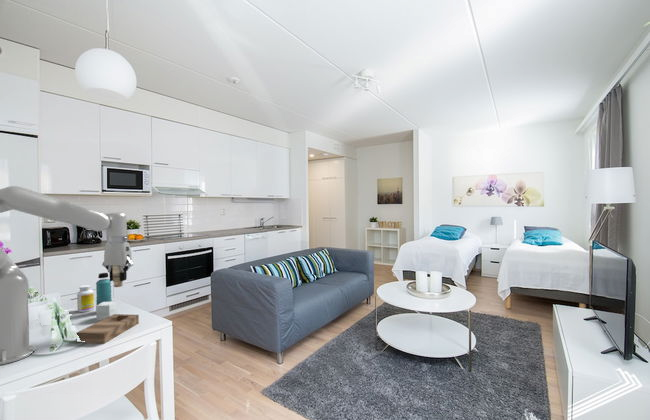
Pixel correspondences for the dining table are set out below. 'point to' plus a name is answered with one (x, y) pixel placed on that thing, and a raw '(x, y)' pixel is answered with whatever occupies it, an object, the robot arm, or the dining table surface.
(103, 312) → the skincare box
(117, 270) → the beech peg
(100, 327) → the walnut board
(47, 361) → the dining table surface
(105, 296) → the beverage bottle
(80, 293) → the supplement bottle
